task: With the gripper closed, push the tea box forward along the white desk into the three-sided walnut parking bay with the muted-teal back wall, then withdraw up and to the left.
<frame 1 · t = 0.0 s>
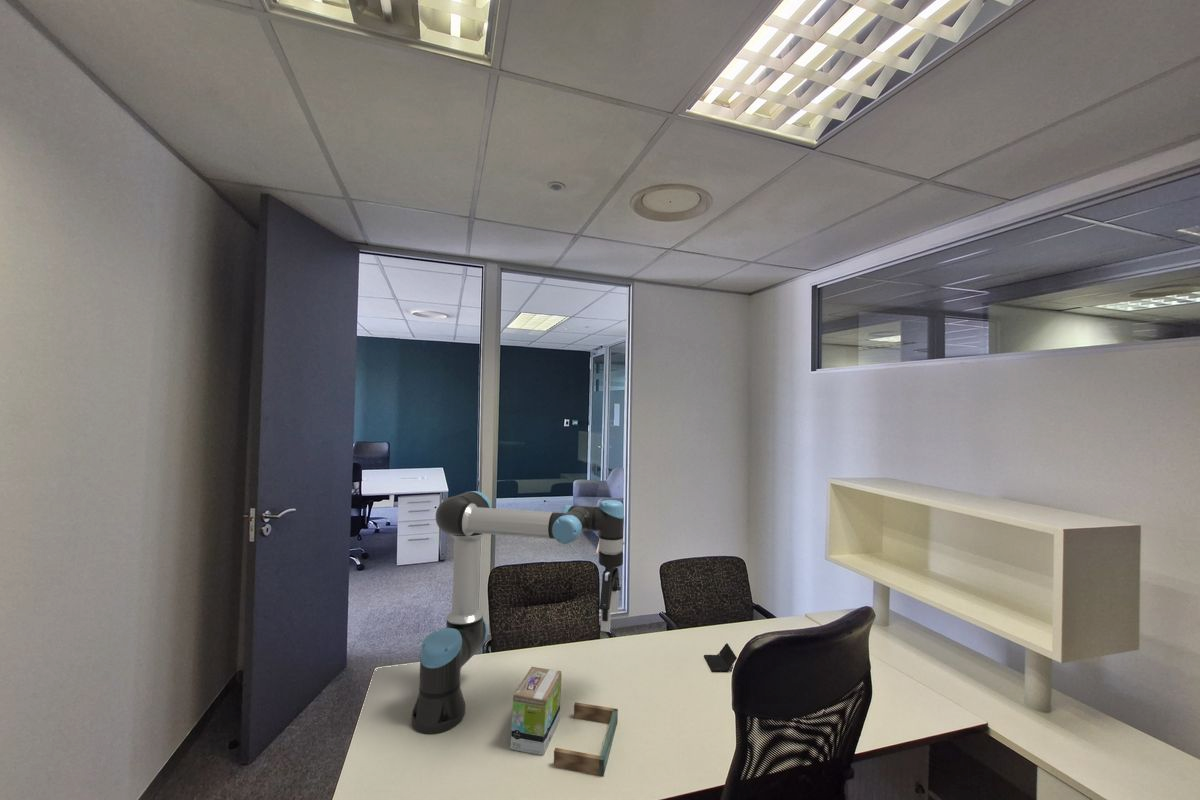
hand: (609, 621, 137), 28 cm above the table, fingers open, 13 cm apart
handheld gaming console: (719, 665, 165), on the table
bay: (585, 743, 123), on the table
tea box: (536, 735, 126), on the table
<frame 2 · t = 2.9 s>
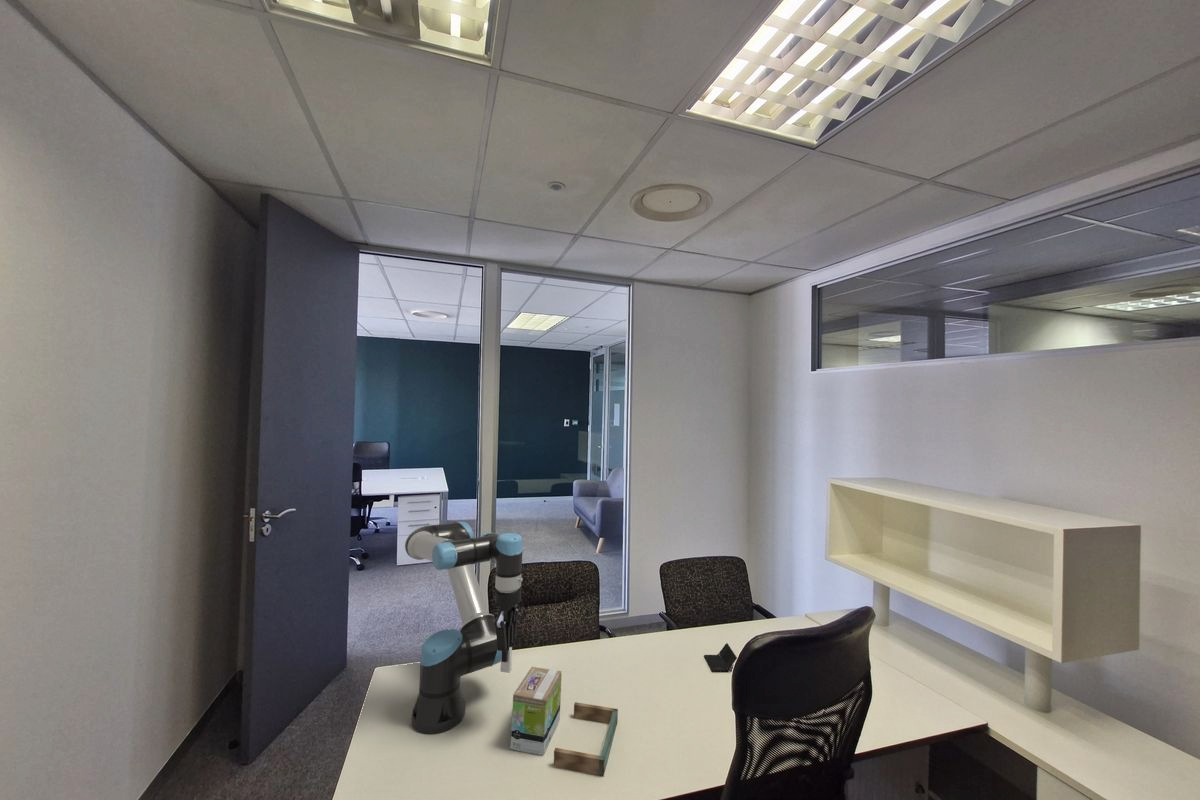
hand: (506, 670, 129), 16 cm above the table, fingers closed
nothing on the table moved.
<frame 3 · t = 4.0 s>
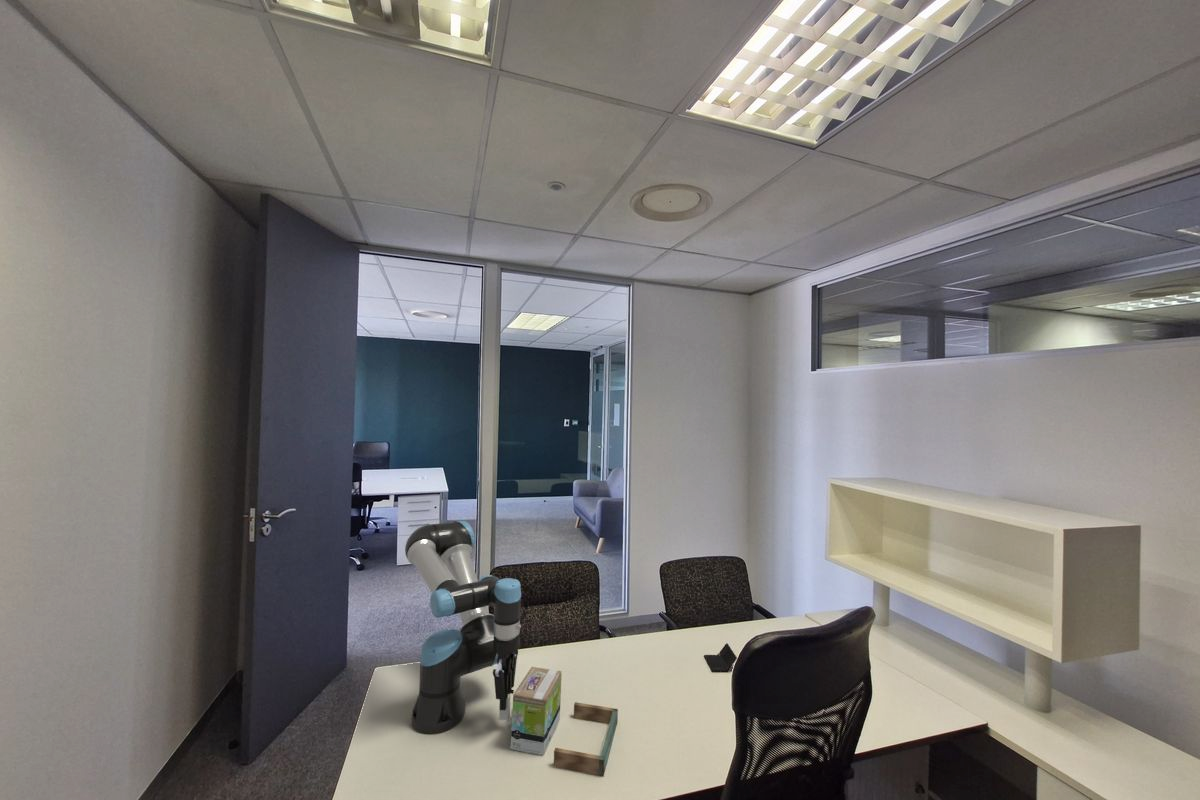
hand: (504, 718, 128), 3 cm above the table, fingers closed
nothing on the table moved.
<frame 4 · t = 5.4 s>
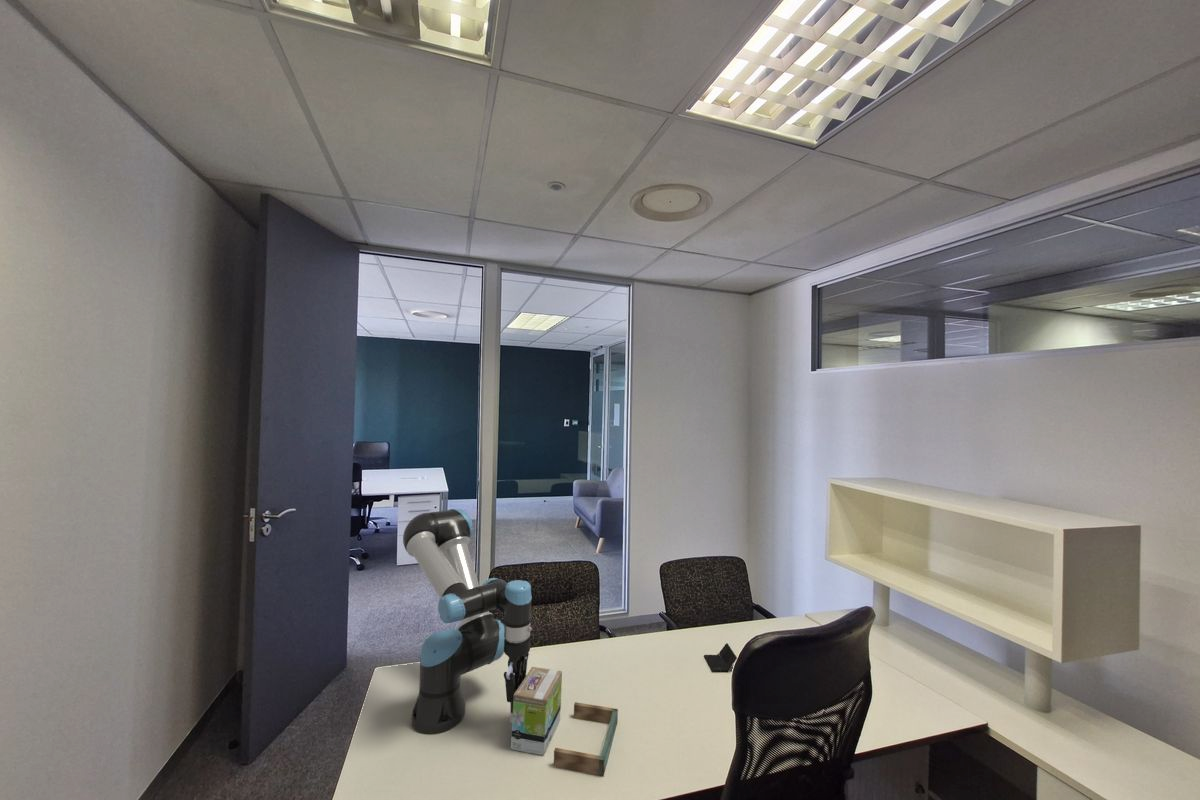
hand: (515, 721, 128), 3 cm above the table, fingers closed
tea box: (536, 735, 126), on the table, touching gripper
everything else where it was.
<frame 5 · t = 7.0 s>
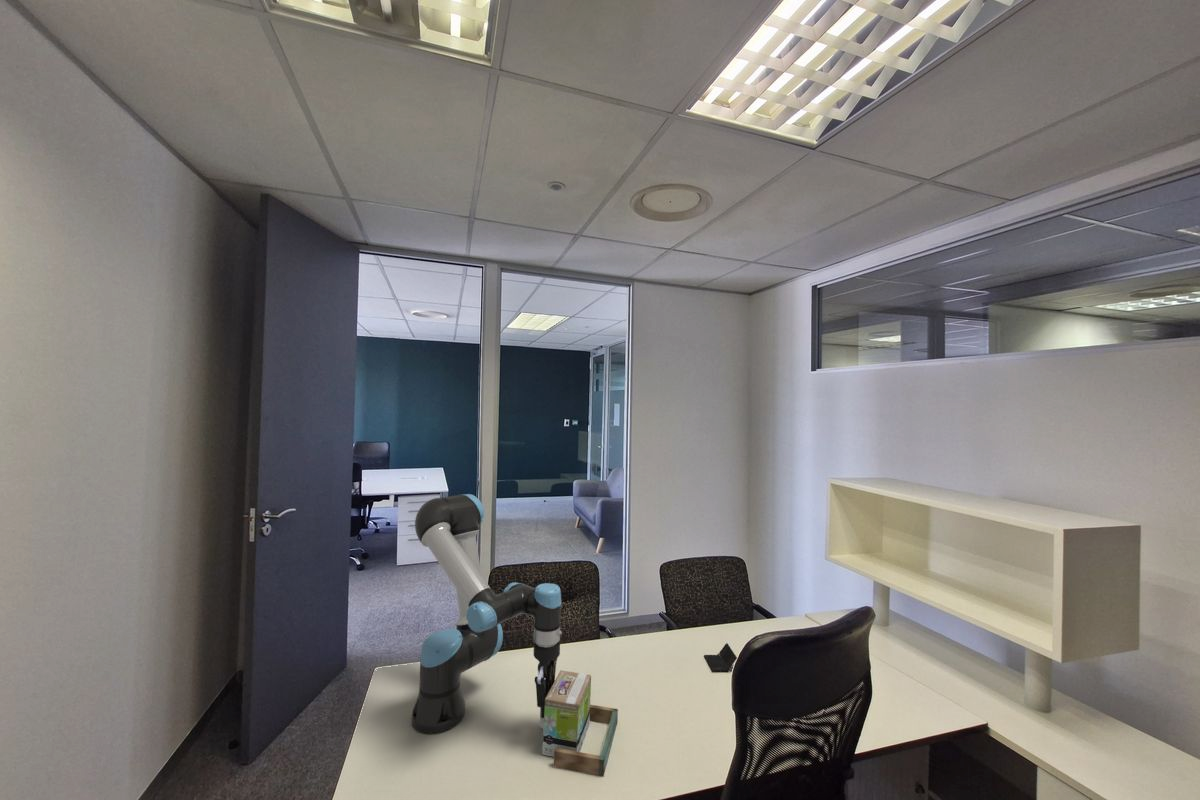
hand: (545, 726, 126), 3 cm above the table, fingers closed
tea box: (567, 740, 125), on the table
everything else where it was.
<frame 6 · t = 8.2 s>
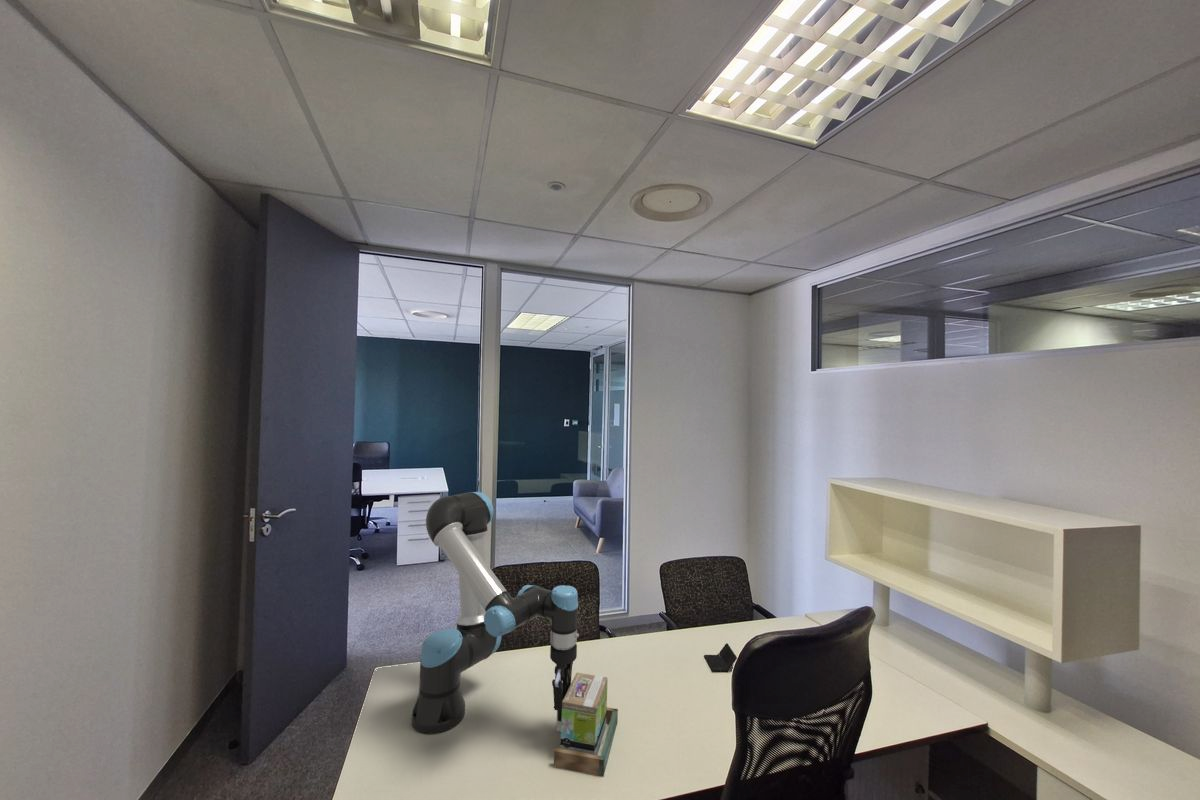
hand: (561, 729, 125), 2 cm above the table, fingers closed
tea box: (584, 743, 124), on the table
everything else where it was.
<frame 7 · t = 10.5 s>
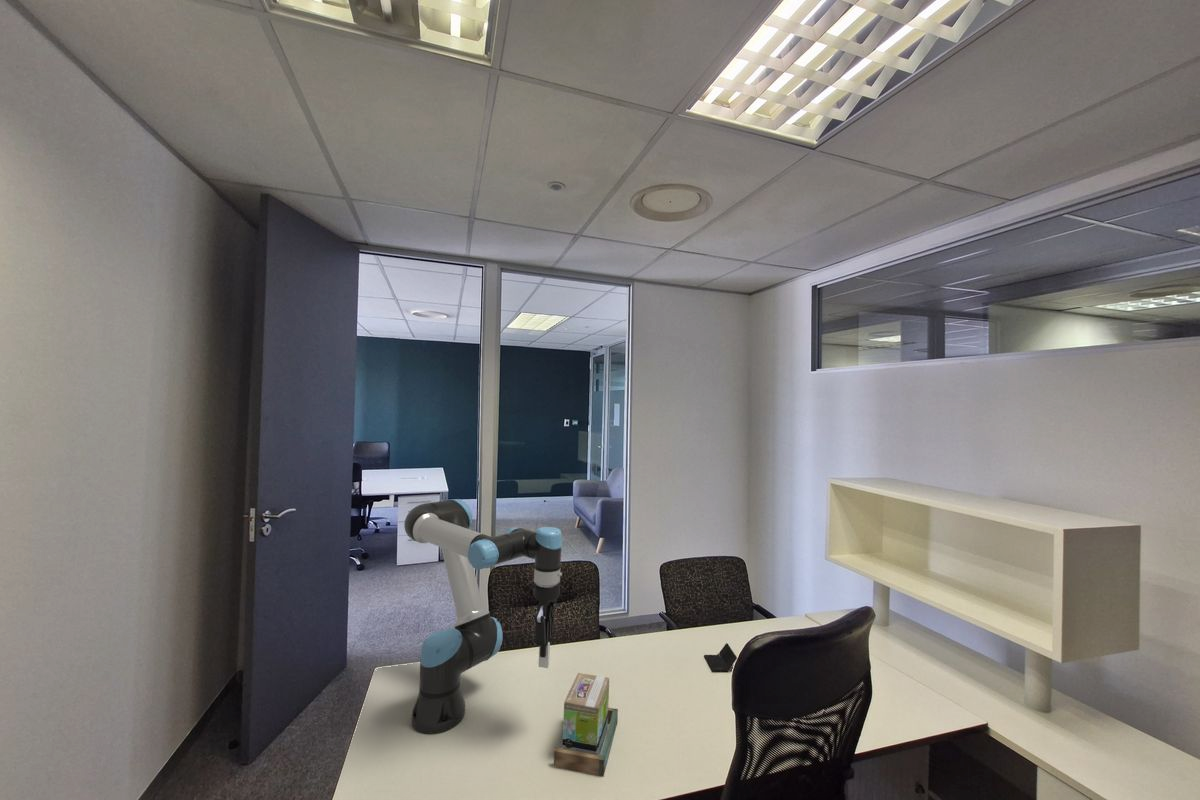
hand: (543, 666, 127), 19 cm above the table, fingers closed
nothing on the table moved.
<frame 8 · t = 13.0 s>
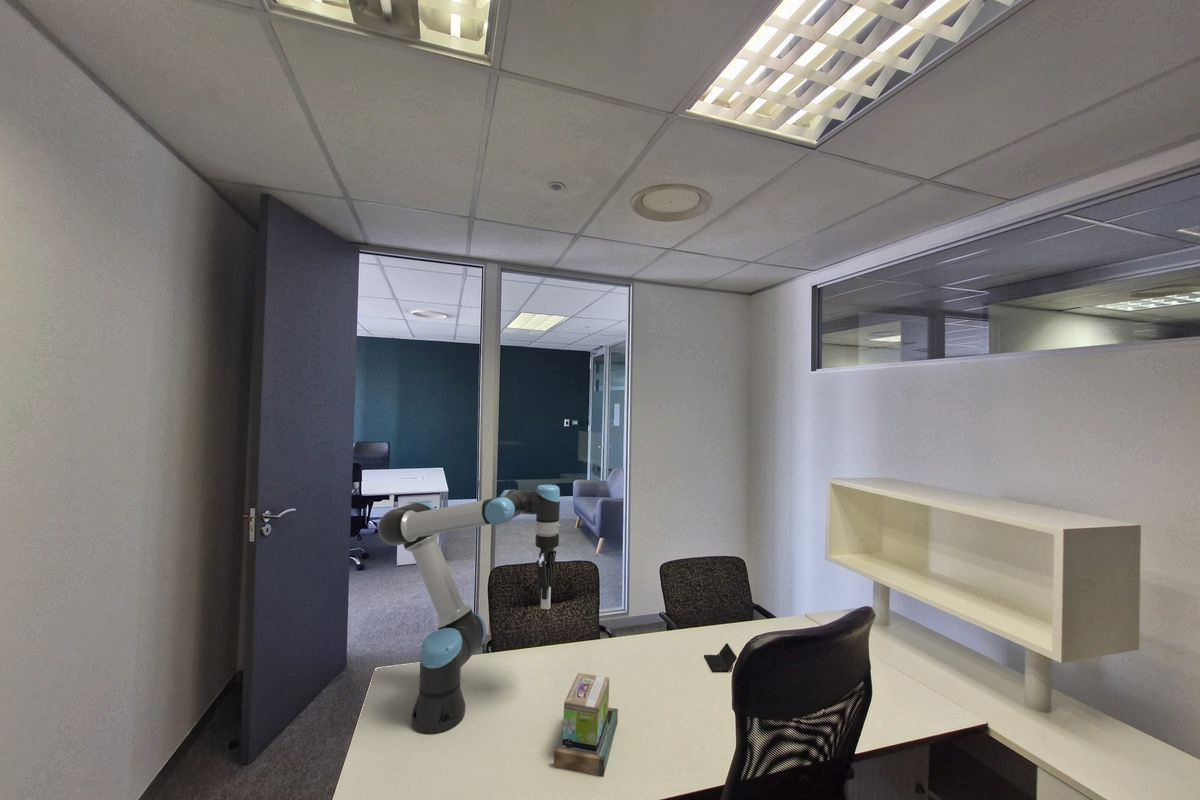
hand: (545, 608, 142), 29 cm above the table, fingers closed
nothing on the table moved.
at the end: tea box inside the target area (0.5 cm from its centre), on the table; tea box tilted 0° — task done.
